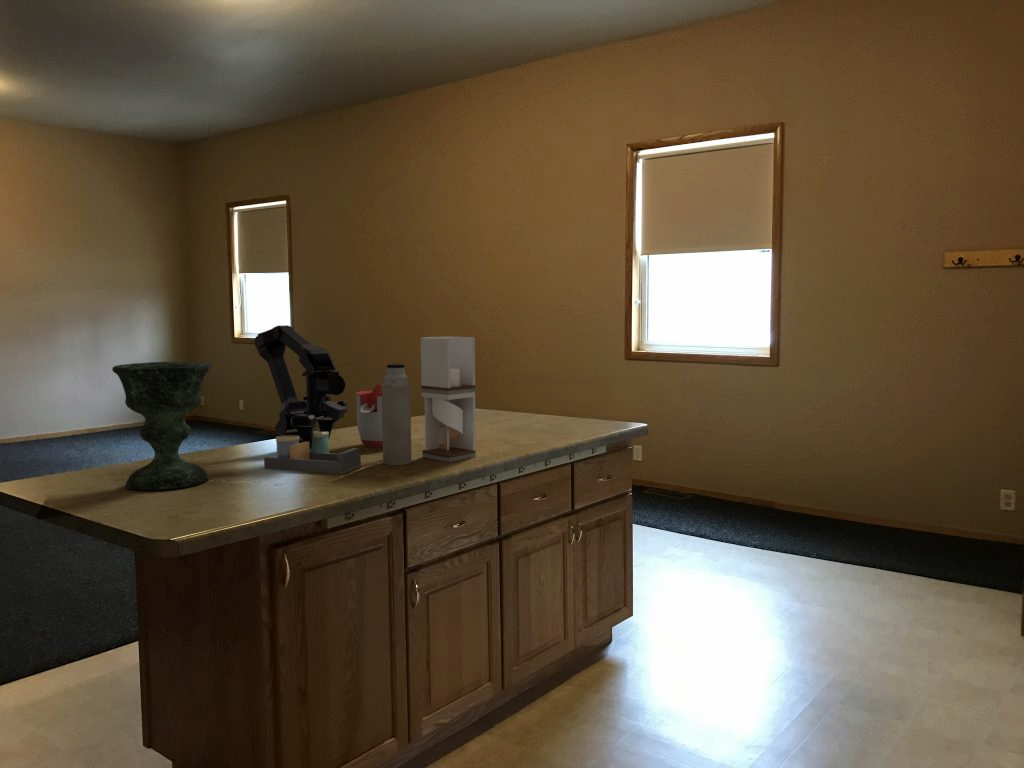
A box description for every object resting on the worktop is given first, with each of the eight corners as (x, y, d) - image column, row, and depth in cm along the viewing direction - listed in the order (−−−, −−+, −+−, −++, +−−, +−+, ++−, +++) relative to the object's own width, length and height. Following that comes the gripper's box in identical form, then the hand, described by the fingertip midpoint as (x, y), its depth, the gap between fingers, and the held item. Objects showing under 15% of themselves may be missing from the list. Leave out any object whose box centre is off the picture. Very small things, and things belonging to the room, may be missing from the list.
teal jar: (303, 461, 237) (302, 433, 236) (314, 457, 243) (313, 430, 242) (322, 462, 235) (321, 434, 234) (333, 458, 241) (332, 431, 240)
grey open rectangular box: (264, 471, 222) (263, 450, 221) (287, 464, 232) (286, 443, 232) (341, 476, 215) (340, 454, 214) (360, 468, 226) (360, 447, 225)
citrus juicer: (343, 448, 256) (342, 384, 254) (373, 440, 272) (372, 379, 271) (387, 452, 251) (386, 386, 249) (415, 442, 267) (414, 381, 265)
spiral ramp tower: (422, 457, 242) (420, 337, 239) (449, 452, 250) (447, 336, 246) (448, 462, 234) (447, 338, 231) (475, 457, 242) (474, 337, 239)
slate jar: (272, 467, 224) (271, 438, 223) (285, 462, 230) (284, 434, 229) (292, 468, 222) (291, 438, 221) (304, 464, 228) (303, 435, 227)
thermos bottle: (391, 459, 239) (389, 362, 236) (416, 460, 236) (414, 363, 233) (377, 464, 231) (376, 364, 229) (403, 466, 229) (402, 365, 226)
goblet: (119, 478, 213) (114, 363, 210) (212, 471, 222) (208, 360, 219) (116, 497, 193) (109, 369, 190) (218, 488, 202) (213, 366, 199)
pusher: (290, 468, 221) (289, 446, 220) (306, 462, 229) (305, 441, 228) (294, 468, 221) (293, 446, 220) (309, 463, 228) (309, 441, 228)
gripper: (324, 397, 226) (326, 453, 227) (357, 390, 243) (358, 442, 245) (289, 395, 229) (290, 451, 231) (323, 389, 247) (324, 440, 248)
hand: (317, 446), depth 239 cm, fingers open, 9 cm apart
